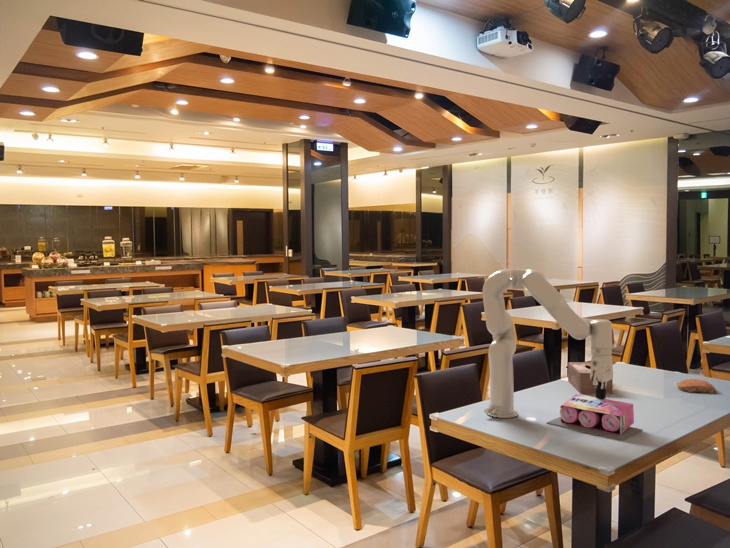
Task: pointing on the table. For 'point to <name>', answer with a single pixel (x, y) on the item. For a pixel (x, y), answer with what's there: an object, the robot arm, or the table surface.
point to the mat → (622, 437)
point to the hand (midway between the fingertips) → (600, 398)
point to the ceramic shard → (696, 386)
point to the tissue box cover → (584, 378)
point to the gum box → (597, 414)
